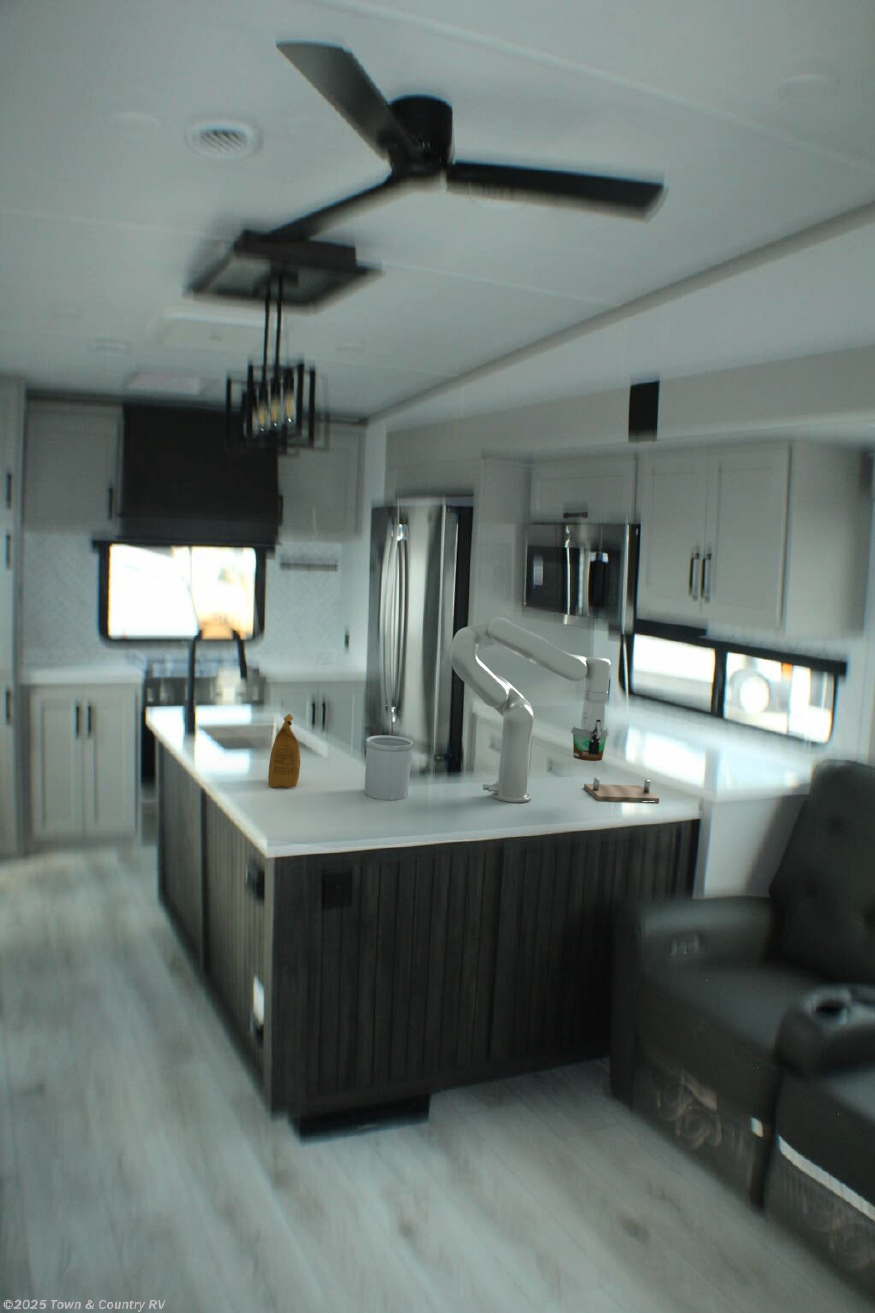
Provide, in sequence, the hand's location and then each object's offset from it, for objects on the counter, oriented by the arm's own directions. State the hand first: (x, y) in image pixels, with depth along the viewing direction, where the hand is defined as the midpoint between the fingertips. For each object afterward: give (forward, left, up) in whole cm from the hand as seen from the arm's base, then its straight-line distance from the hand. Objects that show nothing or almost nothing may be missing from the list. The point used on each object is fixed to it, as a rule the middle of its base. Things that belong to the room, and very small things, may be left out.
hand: (590, 751), depth 320 cm
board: (+17, +13, -17) cm, 27 cm away
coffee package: (-96, +12, -18) cm, 99 cm away
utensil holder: (-64, +4, -18) cm, 67 cm away
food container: (0, -1, -3) cm, 3 cm away
